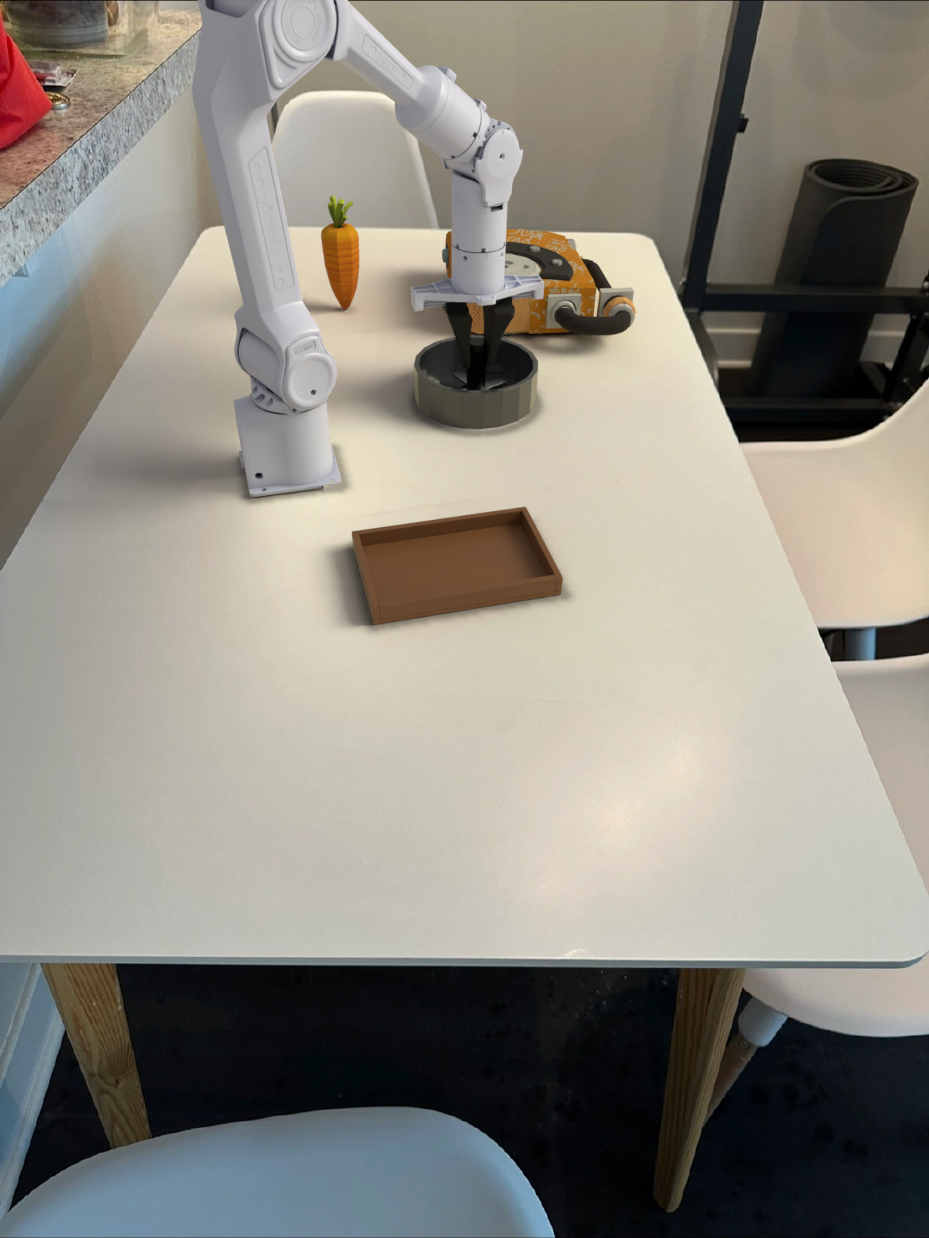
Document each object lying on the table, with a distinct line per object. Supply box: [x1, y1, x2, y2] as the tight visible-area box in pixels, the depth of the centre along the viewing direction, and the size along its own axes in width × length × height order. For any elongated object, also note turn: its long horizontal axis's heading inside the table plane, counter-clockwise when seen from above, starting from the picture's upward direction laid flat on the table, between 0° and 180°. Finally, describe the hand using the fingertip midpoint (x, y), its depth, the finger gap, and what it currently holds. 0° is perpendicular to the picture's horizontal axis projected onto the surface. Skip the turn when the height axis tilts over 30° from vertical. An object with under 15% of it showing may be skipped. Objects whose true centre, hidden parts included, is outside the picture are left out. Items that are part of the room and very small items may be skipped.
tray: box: [351, 506, 564, 625], centre depth 84 cm, size 17×11×2 cm, turn 104°
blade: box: [452, 337, 507, 391], centre depth 105 cm, size 8×8×7 cm
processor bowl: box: [413, 334, 539, 430], centre depth 107 cm, size 14×14×5 cm
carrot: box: [320, 195, 360, 311], centre depth 122 cm, size 5×5×15 cm
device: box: [441, 228, 637, 337], centre depth 124 cm, size 23×8×30 cm
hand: (476, 363), depth 105 cm, fingers closed on blade, 2 cm apart
